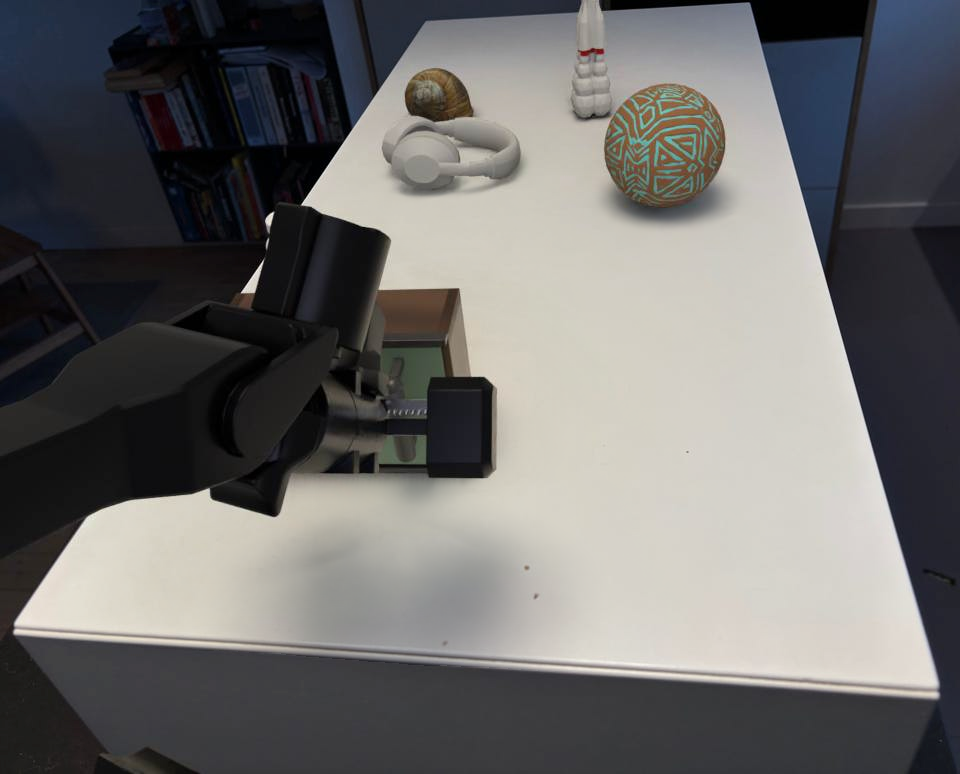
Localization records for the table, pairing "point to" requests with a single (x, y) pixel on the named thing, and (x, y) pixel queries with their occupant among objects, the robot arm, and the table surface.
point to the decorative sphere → (664, 145)
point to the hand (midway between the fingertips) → (383, 433)
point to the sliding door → (408, 395)
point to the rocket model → (590, 63)
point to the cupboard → (417, 332)
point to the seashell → (437, 96)
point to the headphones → (447, 150)
